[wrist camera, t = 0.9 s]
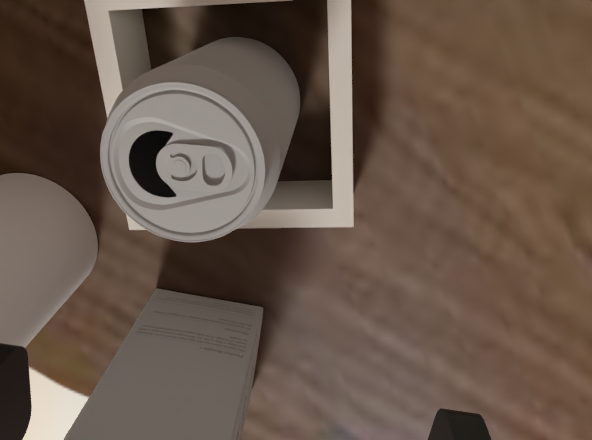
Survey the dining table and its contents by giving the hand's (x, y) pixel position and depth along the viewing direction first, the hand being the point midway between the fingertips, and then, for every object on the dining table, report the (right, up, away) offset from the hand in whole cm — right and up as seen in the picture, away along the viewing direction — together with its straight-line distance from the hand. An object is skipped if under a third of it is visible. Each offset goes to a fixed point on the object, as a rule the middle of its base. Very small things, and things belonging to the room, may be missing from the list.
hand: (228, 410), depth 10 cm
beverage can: (-1, +10, +18) cm, 21 cm away
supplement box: (-5, -4, +25) cm, 26 cm away
